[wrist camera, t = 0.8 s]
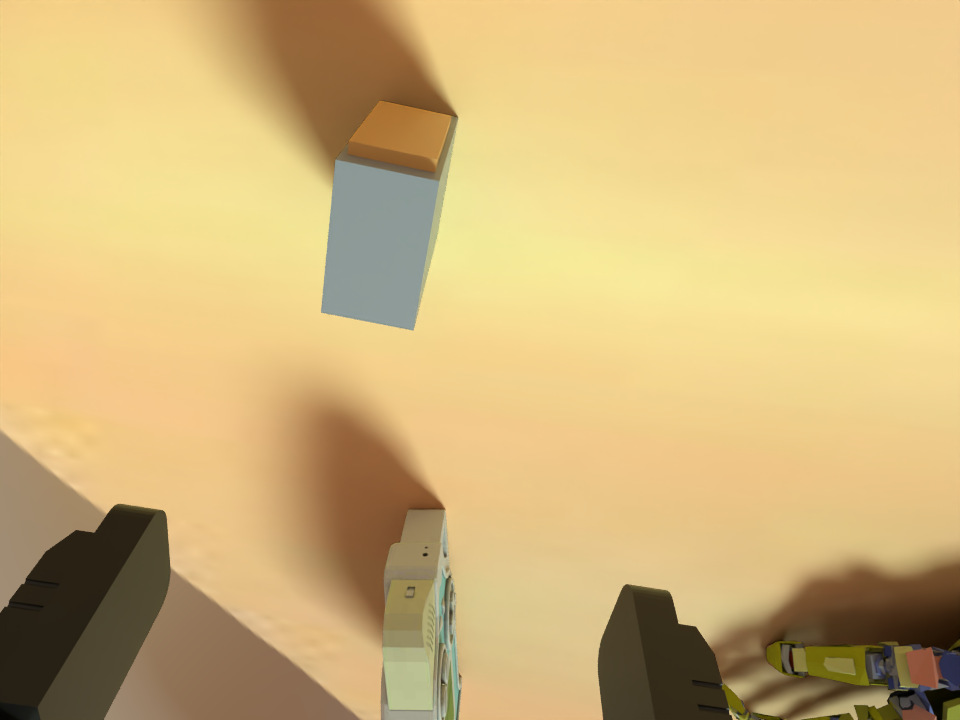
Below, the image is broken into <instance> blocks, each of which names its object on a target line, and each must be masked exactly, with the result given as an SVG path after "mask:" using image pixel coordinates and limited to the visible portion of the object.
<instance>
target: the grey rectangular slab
mask: <svg viewBox="0 0 960 720" xmlns="http://www.w3.org/2000/svg"><path fill="white" fill-rule="evenodd" d="M384 595H385V613H384V623H383V668H382V678H381V720H459V712H460V700H461V688H462V677H460V676H459V674H458V657H457V641H456V619H455V610H456V593H455V591H454V581H453V578H452V574H451V571H450V569H449V555H448V539H447V523H446V510H445V509H408V511H407V515H406V519H405V524H404V528H403V532H402V537H401V541H400V542H398V543H394V544H392V545H391V547H390V550H389V554H388V558H387V562H386V566H385V571H384Z"/></svg>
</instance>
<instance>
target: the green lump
mask: <svg viewBox="0 0 960 720" xmlns="http://www.w3.org/2000/svg"><path fill="white" fill-rule="evenodd" d="M795 644H796V647H795ZM878 644H879V646H873V645H847V644H846V645H828V646H807V647H805V648H803V643H801V642H797V641H780V642H775V643H772V645H768V646H767V649H766V652H767V661H768V662H769V664H770V665H772V666H773V667H775V668H776V669H777V670H778V671H779V672H781V673H782V674H784V675H788V676H793V677H799V678H804V677H806V676H805V672H808V674H809V675H812V676H817V677H821V678H826V679H831V680H836V681H841V682H846V683H850V684H855V685H868V686H870V685H887V687H888V690H897V691H895V692H893V693H891V694H890V696H889V698H888V700H887V702H888V705H886V706H883V707H881V708H879V709H876V708H875V706H872V707H868V706H867V705H854V707H855V710H856V713H857V716H858V720H960V639H959V640H958V641H957V642H956V643H955V644H954V645H953V646H952V647H951V648H949V649H948V650H943V649H940V648H936V647H933V646H932V649H931V647H929V648H922V647H921V644H913V645H905V646H898V642H878ZM885 679H886V682H887V683H885ZM873 682H874V683H873ZM722 689H723V690H724V691H725V694H726V698H727V701H728V705H729V709H730V710H731V712H732V713H733V714H734V716H735V717H736V718H737V719H738V720H761V719H762V720H763V719H764V720H782V719H781V718H779V717H774V716H769V715H764V714H758V713H751V715H750V713H748V710H747V709H746V710H745V709H744V704H743V701H742V700H740V699H739V698H738V697H737V696H736V695H735V693H734V692H733V691H732V690H731V689H729V688H728V687H727V686H726V685H725V684H724V685H722ZM759 718H760V719H759ZM784 720H787V719H784ZM803 720H853V718H852V716H851V715H850V713H847V714H839V715H832V716H825V717H817V718H810V719H803Z"/></svg>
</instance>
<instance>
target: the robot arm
mask: <svg viewBox="0 0 960 720" xmlns="http://www.w3.org/2000/svg"><path fill="white" fill-rule="evenodd" d="M169 581H170V557H169V543H168V529H167V517H166V513H165V512H164V511H163V510H157V509H150V508H144V507H137V506H131V505H125V504H117V505H115V506H114V507H113V508H112V509H111V510H110V511H109V513H108V514H107V515H106V517H105V518H104V520H103V521H102V523H101V524H100V526H99V527H98V529H97V530H96V532H95V533H92V532H85V531H79V530H76V531H74V532H73V533H71V534H70V535H69V536H67V537H66V538H65V539H63V540H62V541H60V542H59V543H57V544H56V545H55V546H53V547H52V548H50V549H49V550H48V551H46V552H45V554H44V555H43V556H42V558H41V559H40V560H39V562H38V563H37V564H36V566H35V567H34V568H33V570H32V571H31V573H30V574H29V575H28V576H27V578H26V581H25V584H22V585H21V586H20V587H19V589H18V590H17V591H16V593H15V594H14V595H13V596H12V598H11V599H10V601H9V605H8V606H7V607H4V609H3V610H2V611H1V613H0V720H104V718H105V716H106V714H107V712H108V710H109V708H110V706H111V704H112V702H113V700H114V699H115V697H116V695H117V693H118V691H119V689H120V687H121V685H122V683H123V681H124V679H125V677H126V675H127V673H128V671H129V669H130V667H131V666H132V664H133V662H134V660H135V658H136V656H137V654H138V652H139V650H140V648H141V646H142V644H143V642H144V640H145V638H146V636H147V635H148V633H149V631H150V629H151V627H152V625H153V623H154V621H155V619H156V617H157V615H158V613H159V611H160V609H161V607H162V605H163V603H164V600H165V597H166V594H167V590H168V586H169ZM598 677H599V686H600V694H601V703H602V712H603V720H732V716H731V715H729V705H728V701H727V698H726V694H725V691H724V690H723V689H722V685H723V683H722V680H721V676H720V672H719V669H718V665H717V661H716V658H715V654H714V653H713V651H712V650H711V648H710V647H709V645H708V644H707V642H706V641H705V639H704V638H703V637H702V635H701V634H700V632H699V631H698V629H697V628H696V627H695V626H688V625H682V624H678V620H677V615H676V611H675V607H674V603H673V599H672V596H671V594H670V593H669V592H668V591H666V590H660V589H654V588H648V587H641V586H635V585H628V584H626V585H625V586H624V587H623V588H622V590H621V592H620V595H619V597H618V600H617V602H616V605H615V607H614V610H613V612H612V614H611V617H610V619H609V622H608V624H607V627H606V629H605V631H604V634H603V637H602V639H601V643H600V648H599V656H598Z"/></svg>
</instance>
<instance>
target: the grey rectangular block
mask: <svg viewBox="0 0 960 720" xmlns="http://www.w3.org/2000/svg"><path fill="white" fill-rule="evenodd" d="M457 122H458V117H454V116H450V115H446V114H441V113H436V112H432V111H427V110H423V109H418V108H413V107H409V106H404V105H399V104H395V103H390V102H385V101H381V100H380V101H379V102H378V103H377V105H376V106H375V107H374V109H373V110H372V111H371V113H370V114H369V115H368V116H367V118H366V119H365V120H364V122H363V123H362V124H361V126H360V127H359V128H358V129H357V131H356V132H355V133H354V135H353V136H352V137H351V139H350V140H349V143H348V144H347V145H346V146H345V148H344V149H343V150H342V152H341V153H340V154H339V156H338V157H337V158H336V160H335V170H334V181H333V191H332V202H331V213H330V223H329V234H328V245H327V255H326V266H325V276H324V287H323V298H322V308H321V313H326V314H331V315H337V316H342V317H347V318H352V319H357V320H362V321H367V322H373V323H378V324H383V325H388V326H393V327H398V328H403V329H409V330H414V327H415V323H416V319H417V315H418V311H419V307H420V303H421V299H422V295H423V291H424V287H425V283H426V279H427V275H428V271H429V267H430V263H431V259H432V255H433V251H434V247H435V243H436V239H437V234H438V228H439V222H440V217H441V211H442V206H443V200H444V194H445V189H446V183H447V178H448V172H449V166H450V161H451V155H452V150H453V144H454V139H455V133H456V127H457Z"/></svg>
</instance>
